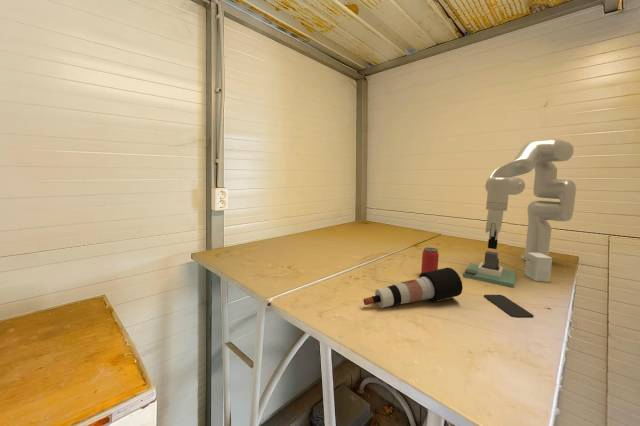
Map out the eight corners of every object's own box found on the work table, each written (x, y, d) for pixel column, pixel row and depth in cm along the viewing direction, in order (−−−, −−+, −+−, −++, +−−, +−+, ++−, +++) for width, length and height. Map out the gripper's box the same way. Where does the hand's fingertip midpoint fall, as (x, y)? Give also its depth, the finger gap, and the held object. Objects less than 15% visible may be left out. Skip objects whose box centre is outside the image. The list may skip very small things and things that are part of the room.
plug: (484, 270, 119) (486, 250, 118) (498, 272, 116) (500, 252, 115) (483, 272, 116) (485, 252, 115) (496, 275, 113) (498, 255, 112)
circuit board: (470, 266, 129) (470, 261, 129) (515, 274, 118) (516, 269, 117) (462, 276, 115) (463, 271, 115) (513, 287, 104) (514, 281, 104)
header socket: (480, 267, 122) (481, 262, 122) (502, 272, 117) (502, 266, 116) (477, 272, 116) (478, 267, 115) (500, 277, 110) (501, 271, 110)
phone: (512, 316, 82) (482, 294, 96) (511, 318, 82) (482, 296, 97) (535, 316, 82) (502, 294, 96) (535, 318, 82) (502, 296, 97)
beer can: (437, 274, 118) (439, 248, 116) (436, 279, 112) (438, 251, 110) (421, 271, 121) (423, 246, 119) (420, 276, 115) (422, 250, 113)
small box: (549, 282, 109) (553, 258, 108) (534, 281, 110) (537, 257, 109) (538, 275, 117) (541, 252, 116) (524, 274, 118) (526, 251, 117)
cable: (363, 317, 90) (356, 287, 92) (447, 296, 98) (438, 269, 101) (374, 318, 80) (366, 285, 83) (466, 295, 88) (456, 265, 91)
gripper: (488, 204, 120) (484, 243, 123) (483, 207, 109) (479, 250, 111) (508, 206, 116) (504, 246, 118) (505, 208, 104) (500, 253, 107)
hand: (492, 248), depth 115 cm, fingers closed
